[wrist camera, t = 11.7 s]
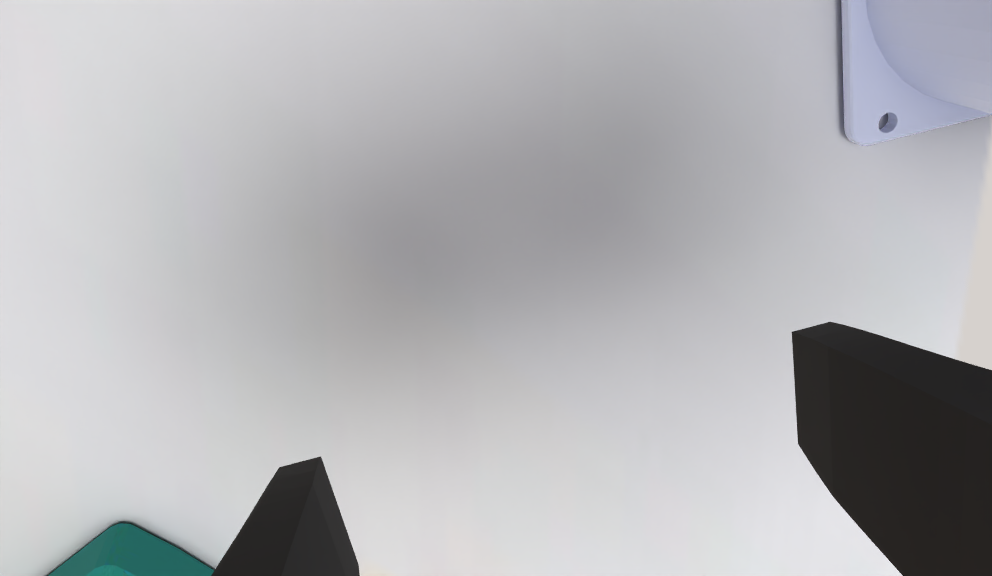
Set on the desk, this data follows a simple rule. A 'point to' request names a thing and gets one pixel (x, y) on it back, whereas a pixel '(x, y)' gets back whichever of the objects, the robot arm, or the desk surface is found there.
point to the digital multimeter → (131, 556)
